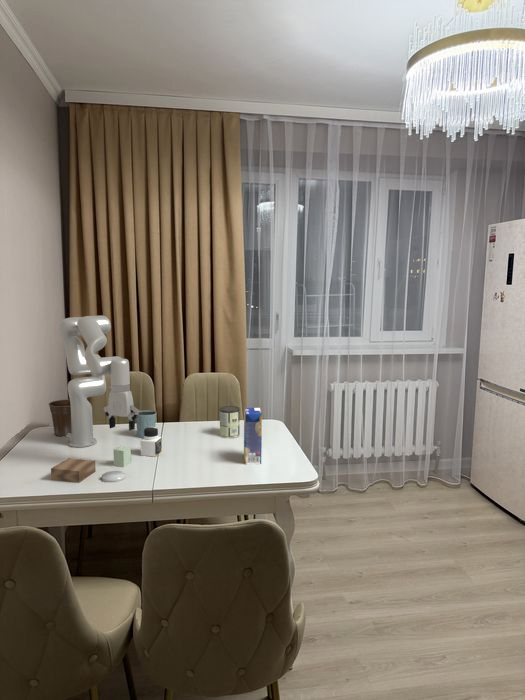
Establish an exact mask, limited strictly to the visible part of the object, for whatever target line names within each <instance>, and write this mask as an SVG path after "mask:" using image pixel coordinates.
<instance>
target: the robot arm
mask: <svg viewBox="0 0 525 700" xmlns="http://www.w3.org/2000/svg"><path fill="white" fill-rule="evenodd" d="M111 324H112V323H111V321H110V319H109V318H108V317H107V316H106V315H86V316H74V317H73V316H72V317H67V318H63V319H62V320H60V323H59V326H58V332H59V336H60V339H61V341H62V343H63V345H64V349H65V350H64V351H65V358H66V363H67V369H68V372H69V374H70V375H72V376H83V375H91V376H85V377H84V376H83V377H76V378H73V379H72V380H70V381H68V384H67V393H68V397H69V398H68V399H70V405H71V428H72V433H68V434H67V435H66V438H67V439H69V441H68V445H69V447H73V448H86V447H91V446H93V445H94V446H95V444H97V438H94V429H93V428H94V426H93V425H94V423H93V421H94V420H93V406H92V404H91V402H90V401H89V400H88V398H92V397H99V396H102V395H104V394H105V393H106V391H107V382H106V376H108V375H110V385H109V386H108V387H109V389H111V390H110V391H109V394H108V398H107V399H108V402H107V406H104V407H103V411H104V414H105V415H106V416H107V419H108V426H109V429H113V428H116V418H115V417H120V418H121V417H124V418H126V417H127V418H128V420H129V421H128V430H129V431H133V430H135V428H136V418H137V417H138V415H139V413H140V411H141V410H140V409H138V408H137V407H135V406H134V399H133V394H132V391H131V382H130V381H131V380H130V378H131V376H130V362H129V359H127V358H122V357H121V356H118V355H117V356H107V357H106V356H105V357H103V356H102V357H101V356H100V355H99V354H97V352H99V351H101V350H103V348H104V347H105V346H106V345H107V342H108V339H107V337H106V335H105V334H108V333H110V331H111V329H112V325H111ZM78 336H82V338H83V341H84V342H85V344H86V345H87V347H86V348H85V344H84V343H83V341H82V340H81V339H80V338H79V337H78Z"/></svg>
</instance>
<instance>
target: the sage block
mask: <svg viewBox="0 0 525 700" xmlns="http://www.w3.org/2000/svg"><path fill="white" fill-rule="evenodd" d="M131 450H132V449H131V446H122V445H120V446H118V447H115V448H113V450H112V451H113V466H115V467H122V468H125V467H126V466H128V465H130V464H131V463H132V454H131Z"/></svg>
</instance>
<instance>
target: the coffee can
mask: <svg viewBox="0 0 525 700" xmlns="http://www.w3.org/2000/svg"><path fill="white" fill-rule="evenodd" d="M240 411H241V407H238V406H235V405H224V406H221V407H219V437H221V438H224V439H235V438H238V437H240V436H241V435H240V434H241V433H240V430H241V429H240V428H241V427H240V426H241V425H240V416H241V415H240Z"/></svg>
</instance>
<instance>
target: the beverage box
mask: <svg viewBox="0 0 525 700" xmlns="http://www.w3.org/2000/svg"><path fill="white" fill-rule="evenodd" d="M262 417H263V414H262V411H261V407H244V408H243V459H244V464H245V465H261V464H262V445H263V444H262V443H263V442H262V439H263V438H262V436H263V435H262V433H263V432H262V431H263V429H262V427H263V420H262V419H263V418H262Z"/></svg>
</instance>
